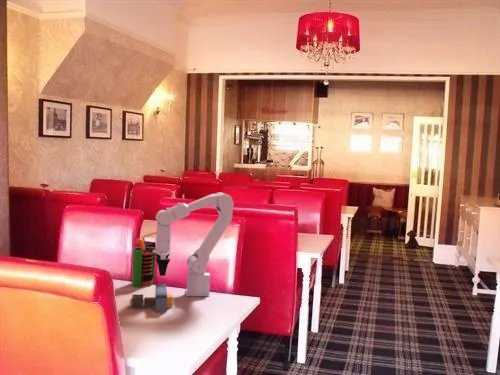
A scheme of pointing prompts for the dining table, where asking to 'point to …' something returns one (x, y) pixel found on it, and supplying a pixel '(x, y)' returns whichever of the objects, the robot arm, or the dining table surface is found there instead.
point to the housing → (161, 298)
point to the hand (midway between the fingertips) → (162, 273)
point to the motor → (143, 265)
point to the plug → (148, 301)
